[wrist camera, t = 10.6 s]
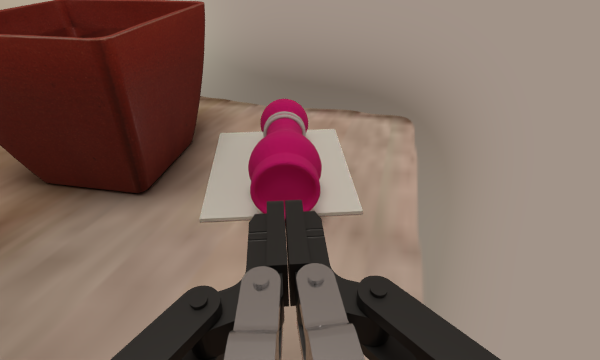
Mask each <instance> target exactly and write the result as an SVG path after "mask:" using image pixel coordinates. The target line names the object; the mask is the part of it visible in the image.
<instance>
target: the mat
mask: <svg viewBox="0 0 600 360" xmlns="http://www.w3.org/2000/svg"><path fill="white" fill-rule="evenodd" d="M263 138H264V136H263V132H236V133H220V136H219V140H218V145H217V149H216V153H215V157H214V161H213V165H212V169H211V173H210V178H209V182H208V186H207V190H206V194H205V198H204V202H203V207H202V211H201V215H200V222H212V221H232V220H251V219H252V217H253V216H254V214H264V213H262V212H261V211H260V210H259V209H258V208H257V207H256V206H255V204H254V203H253V201H252V198H251V194H250V186H251V180H250V177H249V172H248V164H249V159H250V156H251V153H252V151H253V149H254V147H255V146H256V145H257V143H258V142H259V141H260V140H261V139H263ZM306 138H307V139H308V140H309V141H310V142H311V143H312V144H313V145H314V146H315V148H316V150H317V151H318V154H319V157H320V159H321V164H322V171H321V177H320V179H319V182H320V197H319V199H318V202H317V203H316V205H315V206H314V208H313V209H312V210H310V211H315V212H316V213H317V214H318V216H332V215H352V214H363V210H362V207H361V204H360V201H359V198H358V195H357V192H356V189H355V187H354V184H353V181H352V178H351V175H350V172H349V169H348V166H347V163H346V160H345V157H344V154H343V151H342V149H341V146H340V143H339V140H338V137H337V134H336V131H335V129H321V130H307V132H306Z"/></svg>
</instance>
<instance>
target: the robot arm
mask: <svg viewBox="0 0 600 360" xmlns="http://www.w3.org/2000/svg"><path fill="white" fill-rule="evenodd" d="M285 217H286V233H285ZM286 241H287V249H286ZM287 257H288V266H287ZM288 273H289V289H290V304H291V306H296V312H297V329H298V335H299V341H300V347H301V354H302V360H365V359H364V356H363V354H364V355H365V356H366V357H367V358H368V359H369V360H500V359H499V358H498V357H496V356H495V355H493V354H492V353H491V352H489V351H488V350H486V349H485V348H484V347H482V346H481V345H479V344H478V343H477V342H475V341H474V340H472V339H471V338H469V337H468V336H467V335H465V334H464V333H463V332H461V331H460V330H458V329H457V328H456V327H454V326H453V325H451V324H450V323H449V322H447V321H446V320H444V319H443V318H442V317H440V316H439V315H437V314H436V313H435V312H433V311H432V310H431V309H429V308H428V307H426V306H425V305H424V304H422V303H421V302H419V301H418V300H417V299H415V298H414V297H412V296H411V295H410V294H408V293H407V292H405V291H404V290H403V289H401V288H400V287H398V286H397V285H396V284H394V283H393V282H391V281H390V280H388V279H387V278H384V277H381V276H369V277H366V278H364V279H363V280H362V281H361V282H360V283H359V282H354V281H350V280H346V279H343V278H341V277H340V276H338V275H337V274H336V273H335V272H334V271H333V270H332V268H331V266H330V263H329V258H328V252H327V247H326V242H325V237H324V231H323V226H322V221H321V218H320V217H319V216H318V214H317V213H316V212H315V211H303V204H302V200H285V216H284V201H267V213H265V214H254V216H253V217H252V219H251V221H250V222H249V234H248V250H247V265H246V273H245V275H244V276H243V278H242V280H241V281H240V282H239V283H237V284H236V285H234V286H232V287H230V288H228V289H225V290H222V291H219V292H217V290H215V289H214V288H212V287H209V286H198V287H194V288H192V289H190V290H188V291H187V292H186V293H185V294H183V295H182V296H181V297H180V298H179V299H178V300H177V301H176V302H174V303H173V304H172V305H171V306H170V307H169V308H168V309H167V310H166V311H164V312H163V313H162V314H161V315H160V316H159V317H158V318H157V319H155V320H154V321H153V322H152V323H151V324H150V325H149V326H148V327H147V328H145V329H144V330H143V331H142V332H141V333H140V334H139V335H138V336H136V337H135V338H134V339H133V340H132V341H131V342H130V343H129V344H128V345H126V346H125V347H124V348H123V349H122V350H121V351H120V352H119V353H117V354H116V355H115V356H114V357H113V358H112V359H111V360H282V339H283V323H284V307H285V306H289V296H288Z"/></svg>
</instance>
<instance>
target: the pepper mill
mask: <svg viewBox="0 0 600 360" xmlns="http://www.w3.org/2000/svg"><path fill="white" fill-rule="evenodd" d="M307 129H308V118H307V115H306V112H305V111H304V109H303V108H302V106H301V105H299V104H298V103H297V102H295V101H293V100H289V99H279V100H276V101H274V102H272V103H270V104H269V105H268V106H267V107H266V108H265V110H264V112H263V114H262V116H261V130H262V132H263V136H264V138H263V139H261V140H260V141H259V142H258V143H257V145H256V146H255V147H254V149H253V151H252V153H251V156H250V159H249V164H248V172H249V177H250V180H251V186H250V194H251V198H252V201H253V203H254V204H255V206H256V207H257V208H258V209H259V210H260V211H261V212H262V213H264V214H265V213H267V201H284V216H285V200H302V204H303V211H310V210H312V209H313V208H314V206H315V205H316V203H317V202H318V199H319V197H320V182H319V179H320V177H321V171H322V164H321V159H320V157H319V154H318V151H317V150H316V148H315V146H314V145H313V144H312V143H311V142H310V141H309V140H308V139H307V138H306V132H307ZM285 220H286V217H285Z"/></svg>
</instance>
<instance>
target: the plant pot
mask: <svg viewBox="0 0 600 360" xmlns="http://www.w3.org/2000/svg"><path fill="white" fill-rule="evenodd" d="M204 11H205V9H204V2H198V1H168V0H53V1H48V2H42V3H37V4H31V5H26V6H20V7H15V8H10V9H4V10H0V145H1V146H2V147H3V148H4V149H5V150H6V151H7V152H9V153H10V154H11V155H12V156H13V157H14V158H16V159H17V160H18V161H19V162H20V163H22V164H23V165H24V166H25V167H26V168H28V169H29V170H30V171H31V172H33V173H34V174H35V175H36V176H38V177H39V178H40V179H42V180H43V181H44V182H46V183H53V184H62V185H71V186H79V187H88V188H97V189H106V190H115V191H123V192H132V193H140V192H143V191H145V190H147V189H148V188H149V187H150V186H151V185H152V184H153V183H154V182H155V181H156V180H157V179H158V178H159V177H160V176H161V175H162V174H163V172H164V171H165V170H166V169H167V168H168V167H169V166H170V165H171V164H172V163H173V162H174V161H175V160H176V159H177V158H178V156H179V155H180V154H181V153H182V152H183V151H184V150H185V149H186V148H187V147H188V146H189V144H190V143H191V142H192V139H193V135H194V130H195V126H196V120H197V114H198V107H199V101H200V92H201V84H202V74H203V61H204V37H205V12H204Z"/></svg>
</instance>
